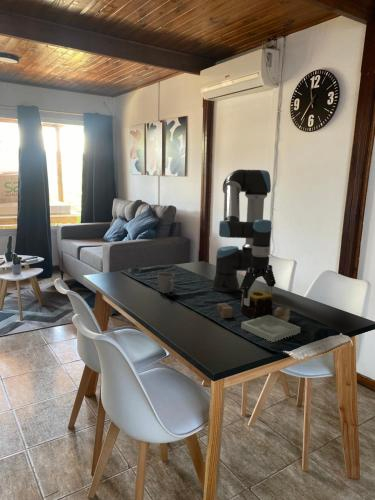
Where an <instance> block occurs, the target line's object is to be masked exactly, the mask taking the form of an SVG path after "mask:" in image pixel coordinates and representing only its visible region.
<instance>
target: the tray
mask: <svg viewBox="0 0 375 500" xmlns="http://www.w3.org/2000/svg"><path fill="white" fill-rule="evenodd" d="M240 326H241V327H240V328H241V329H242V330H244V331H247V332H249V333H251V334H253V335H255V336H257V337H259V338H261V339H263V338H264V339H263V340H265V339H266V340H265V341H267V342H270V341H271V342H270V343H272V342H274V343H276V342H279V341H281V339H282V340H284V339H283V338H285V339H287V338H286V337H288V338H290V337H292V335H293V336H297V335H298V333H299V334H300V333H301V326H298V325H296V324H293V323H290V322H289V321H287V322H286V321H283V320H281V319H278V318H276V317H274V315H272V316H271V315H266V316H262V317H259V318H256V319H250V320H246V321H241V325H240ZM289 336H290V337H289ZM278 340H279V341H278ZM275 341H276V342H275Z"/></svg>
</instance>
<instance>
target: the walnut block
mask: <svg viewBox="0 0 375 500" xmlns="http://www.w3.org/2000/svg"><path fill="white" fill-rule="evenodd" d="M233 309H234V307H232V306H231V305H229V304H228V303H227V302H223V303H222V302H220V303H217V304H216V313H217V314H218V315H219V316H220V317H221V318H222V319H229V318H230V319H231V318H233V312H234V310H233Z"/></svg>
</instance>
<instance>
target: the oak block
mask: <svg viewBox="0 0 375 500" xmlns="http://www.w3.org/2000/svg"><path fill="white" fill-rule="evenodd" d="M290 309H291V308H286V307H282V306H278V307H276V308H275V309H274V315H273V317H276V318H278V319H281V320H283V321H286V322H289V320H290V315H291V314H290V311H291V310H290Z"/></svg>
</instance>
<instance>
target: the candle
mask: <svg viewBox="0 0 375 500" xmlns="http://www.w3.org/2000/svg"><path fill="white" fill-rule="evenodd" d="M249 291H250V304H249V306H247V305H244V297H243V299H242V298H241V303H242V307H241V311H240V312H241V314H242V315H244V316H246V317H247V318H250V320H252V319H256V318H259V317H262V316H266V315H271V316H273V310H274V309H273V306H274V295H272V294H271V295H270V294H268V293H265V291H263V290H261V289H258V290H252V291H251V290H249ZM242 294H243V295H244V291H243V292H242Z"/></svg>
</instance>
